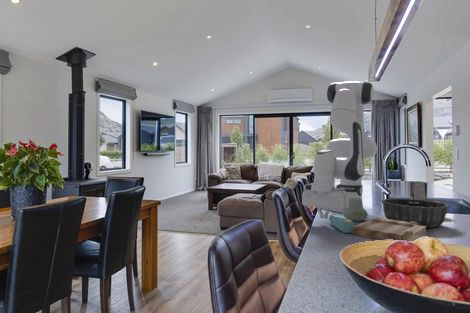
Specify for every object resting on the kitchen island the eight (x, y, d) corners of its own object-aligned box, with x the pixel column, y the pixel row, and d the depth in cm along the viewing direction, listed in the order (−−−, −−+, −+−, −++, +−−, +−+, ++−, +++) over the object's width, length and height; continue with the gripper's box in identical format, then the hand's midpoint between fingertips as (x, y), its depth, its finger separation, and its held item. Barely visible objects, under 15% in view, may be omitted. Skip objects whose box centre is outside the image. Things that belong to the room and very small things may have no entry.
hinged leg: (354, 232, 136) (354, 221, 136) (343, 232, 136) (344, 221, 136) (338, 223, 154) (338, 212, 154) (329, 223, 154) (329, 212, 154)
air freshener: (347, 221, 159) (347, 200, 158) (340, 218, 167) (340, 197, 167) (370, 221, 159) (370, 200, 159) (362, 218, 167) (362, 197, 167)
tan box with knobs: (352, 234, 135) (352, 223, 135) (372, 226, 150) (372, 215, 150) (413, 245, 120) (413, 232, 120) (428, 234, 135) (428, 223, 135)
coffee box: (427, 214, 178) (427, 182, 178) (413, 213, 179) (414, 182, 179) (421, 211, 187) (421, 181, 187) (408, 210, 188) (408, 181, 188)
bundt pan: (412, 217, 171) (413, 197, 171) (463, 228, 146) (463, 205, 146) (368, 220, 162) (369, 199, 162) (414, 233, 137) (415, 208, 137)
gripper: (349, 188, 147) (349, 220, 147) (307, 184, 161) (307, 214, 161) (343, 189, 142) (342, 222, 143) (300, 185, 156) (300, 216, 156)
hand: (323, 218), depth 152 cm, fingers closed
